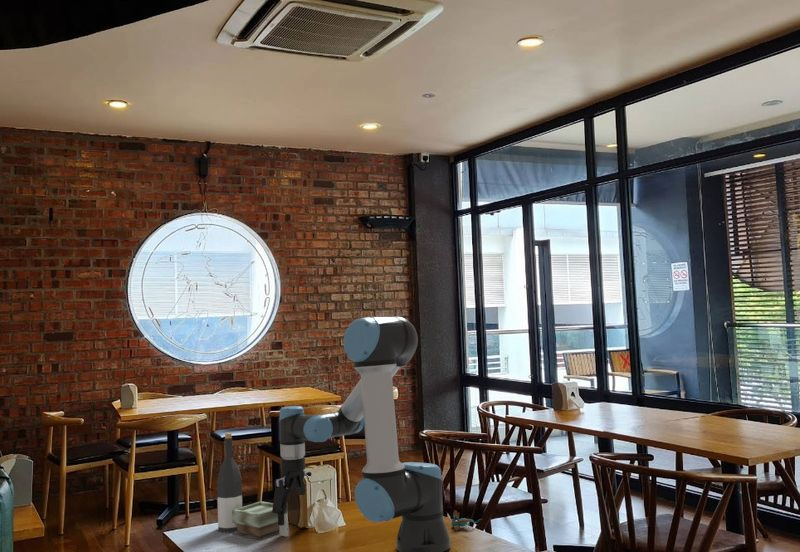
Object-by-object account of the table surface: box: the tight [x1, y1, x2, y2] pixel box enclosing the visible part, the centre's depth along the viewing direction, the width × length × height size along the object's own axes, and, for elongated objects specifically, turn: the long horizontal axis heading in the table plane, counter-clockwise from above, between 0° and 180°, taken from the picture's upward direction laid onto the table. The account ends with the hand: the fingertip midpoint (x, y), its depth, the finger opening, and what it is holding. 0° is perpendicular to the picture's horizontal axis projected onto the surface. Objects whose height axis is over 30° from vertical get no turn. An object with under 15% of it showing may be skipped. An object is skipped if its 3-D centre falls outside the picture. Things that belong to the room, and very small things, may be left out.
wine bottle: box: [216, 432, 243, 533], centre depth 233 cm, size 8×8×30 cm
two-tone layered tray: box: [231, 501, 289, 541], centre depth 228 cm, size 12×12×7 cm
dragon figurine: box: [450, 509, 483, 532], centre depth 224 cm, size 6×7×8 cm
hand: (294, 531), depth 226 cm, fingers open, 9 cm apart
